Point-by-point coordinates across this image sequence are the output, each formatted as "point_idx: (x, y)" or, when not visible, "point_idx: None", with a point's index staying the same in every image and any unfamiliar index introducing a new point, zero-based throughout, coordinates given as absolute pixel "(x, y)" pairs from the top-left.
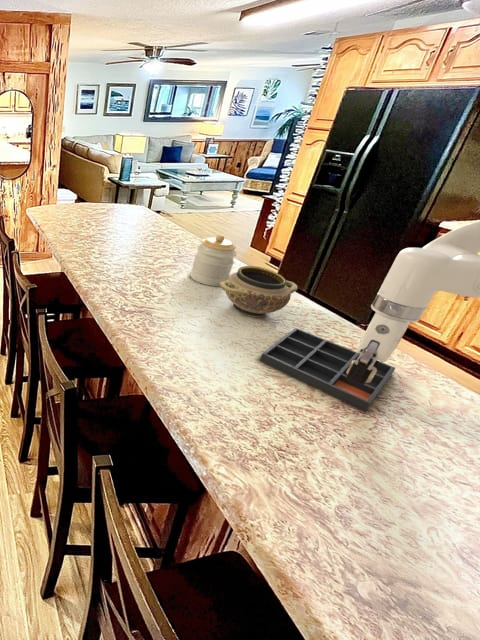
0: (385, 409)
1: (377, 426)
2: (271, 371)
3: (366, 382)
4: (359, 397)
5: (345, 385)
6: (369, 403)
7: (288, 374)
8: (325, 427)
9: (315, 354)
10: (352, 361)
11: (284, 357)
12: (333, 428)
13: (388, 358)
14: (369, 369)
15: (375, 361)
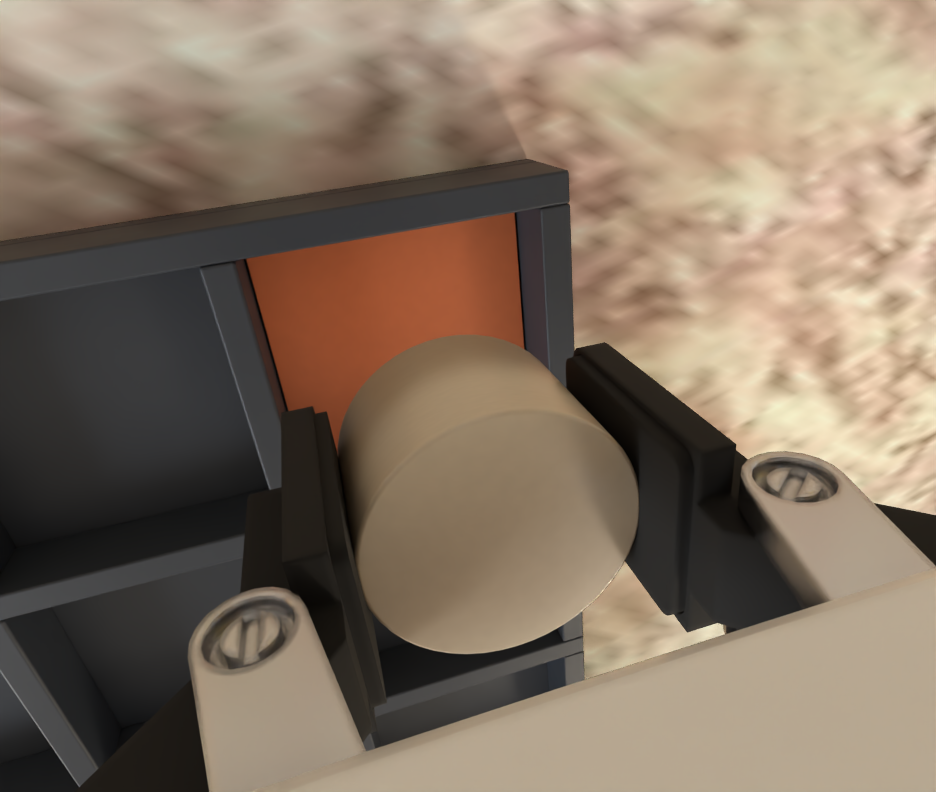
0: (299, 72)
1: (643, 13)
2: (606, 645)
3: (520, 347)
4: (409, 277)
5: (338, 416)
6: (565, 176)
7: None
8: (921, 220)
9: (120, 736)
10: (528, 639)
11: (402, 733)
12: (900, 189)
13: (916, 593)
14: (820, 470)
15: (880, 581)
